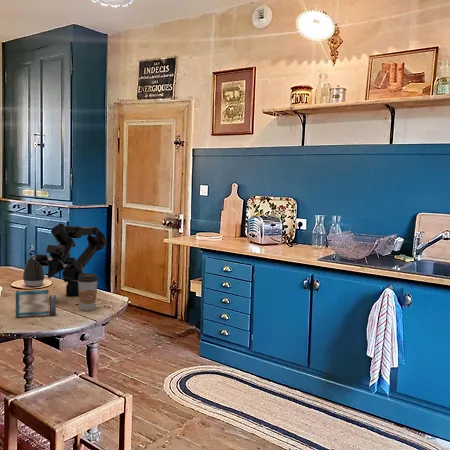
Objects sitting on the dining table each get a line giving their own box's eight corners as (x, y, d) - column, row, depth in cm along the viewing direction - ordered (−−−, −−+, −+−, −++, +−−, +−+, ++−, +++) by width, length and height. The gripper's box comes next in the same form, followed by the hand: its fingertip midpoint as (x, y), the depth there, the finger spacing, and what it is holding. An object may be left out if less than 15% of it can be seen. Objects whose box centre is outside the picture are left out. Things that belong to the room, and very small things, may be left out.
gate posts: (56, 314, 193) (57, 295, 192) (53, 316, 191) (53, 297, 190) (19, 309, 197) (19, 290, 196) (15, 311, 195) (15, 292, 194)
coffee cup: (79, 312, 197) (79, 277, 196) (75, 307, 205) (76, 273, 203) (99, 310, 201) (99, 276, 199) (95, 305, 208) (95, 272, 207)
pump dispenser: (40, 288, 231) (40, 258, 230) (19, 287, 232) (19, 257, 230) (48, 283, 242) (48, 254, 240) (28, 282, 242) (28, 253, 240)
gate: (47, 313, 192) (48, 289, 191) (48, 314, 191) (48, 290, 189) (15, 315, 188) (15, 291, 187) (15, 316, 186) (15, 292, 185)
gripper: (37, 236, 208) (21, 265, 199) (75, 239, 204) (60, 269, 194) (48, 250, 217) (33, 279, 207) (84, 254, 212) (70, 283, 203)
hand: (48, 277), depth 203 cm, fingers closed
